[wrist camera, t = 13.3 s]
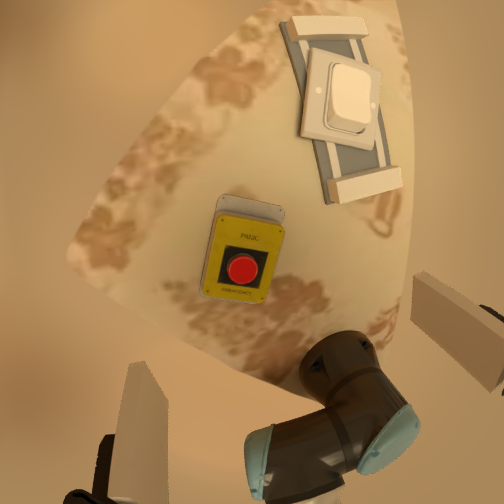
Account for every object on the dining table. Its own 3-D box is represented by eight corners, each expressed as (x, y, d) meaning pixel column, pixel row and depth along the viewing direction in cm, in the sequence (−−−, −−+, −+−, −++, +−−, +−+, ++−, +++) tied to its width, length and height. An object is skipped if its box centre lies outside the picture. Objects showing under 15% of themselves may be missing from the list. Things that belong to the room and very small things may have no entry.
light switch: (309, 137, 32) (320, 41, 27) (298, 136, 35) (308, 48, 31) (383, 153, 34) (392, 66, 29) (367, 150, 38) (375, 70, 33)
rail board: (390, 185, 41) (405, 189, 38) (325, 203, 40) (337, 209, 36) (351, 22, 31) (364, 14, 28) (278, 24, 30) (287, 13, 27)
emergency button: (198, 309, 37) (221, 197, 33) (197, 294, 41) (218, 192, 37) (265, 318, 40) (295, 213, 36) (258, 303, 44) (285, 206, 40)
